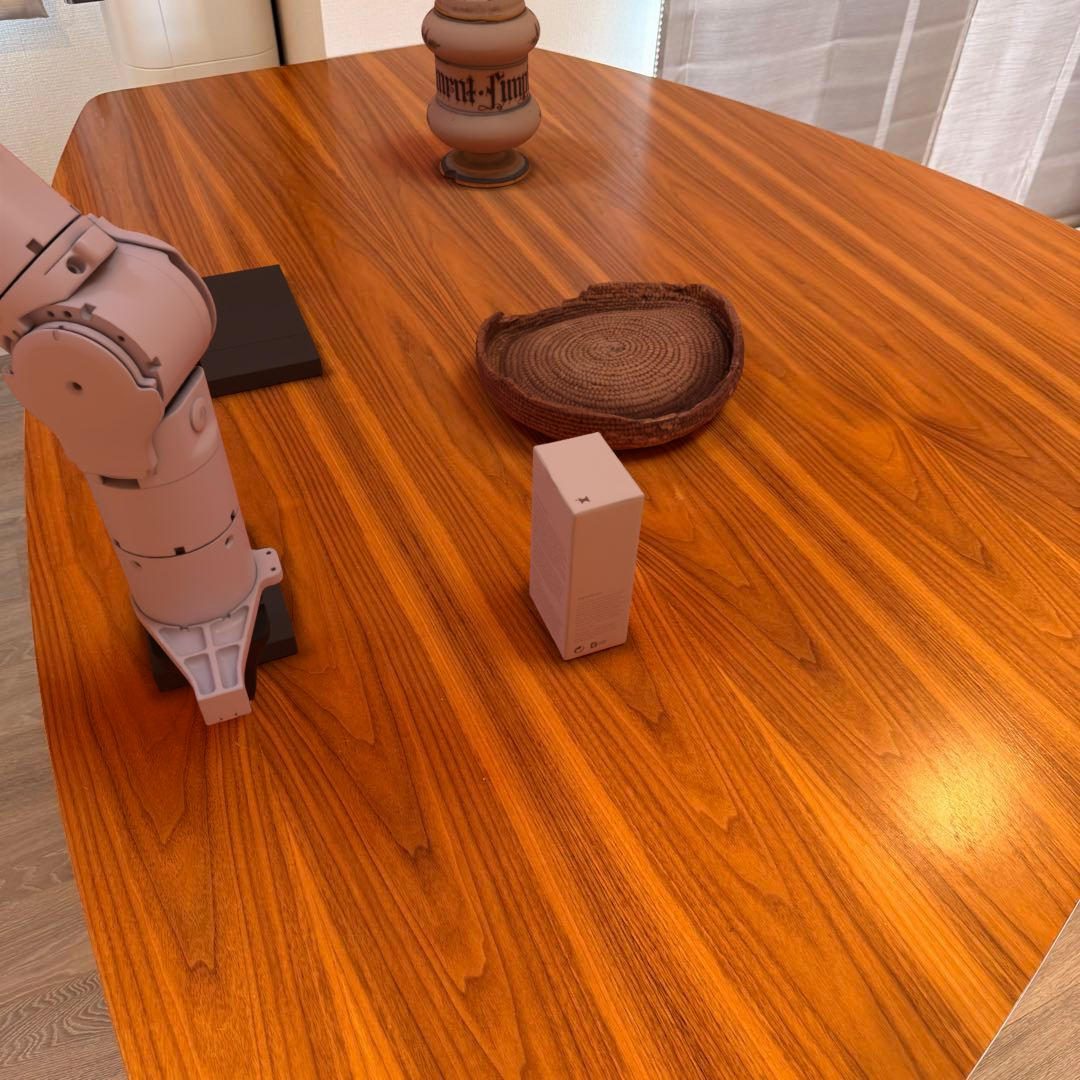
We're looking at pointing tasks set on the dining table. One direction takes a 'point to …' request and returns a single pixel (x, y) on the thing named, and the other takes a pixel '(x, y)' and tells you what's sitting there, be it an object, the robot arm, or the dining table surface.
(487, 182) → the apothecary jar
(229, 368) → the big pad
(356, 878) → the dining table surface
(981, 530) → the dining table surface
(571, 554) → the cosmetic box
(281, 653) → the small pad
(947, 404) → the dining table surface
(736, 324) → the basket
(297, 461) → the dining table surface
